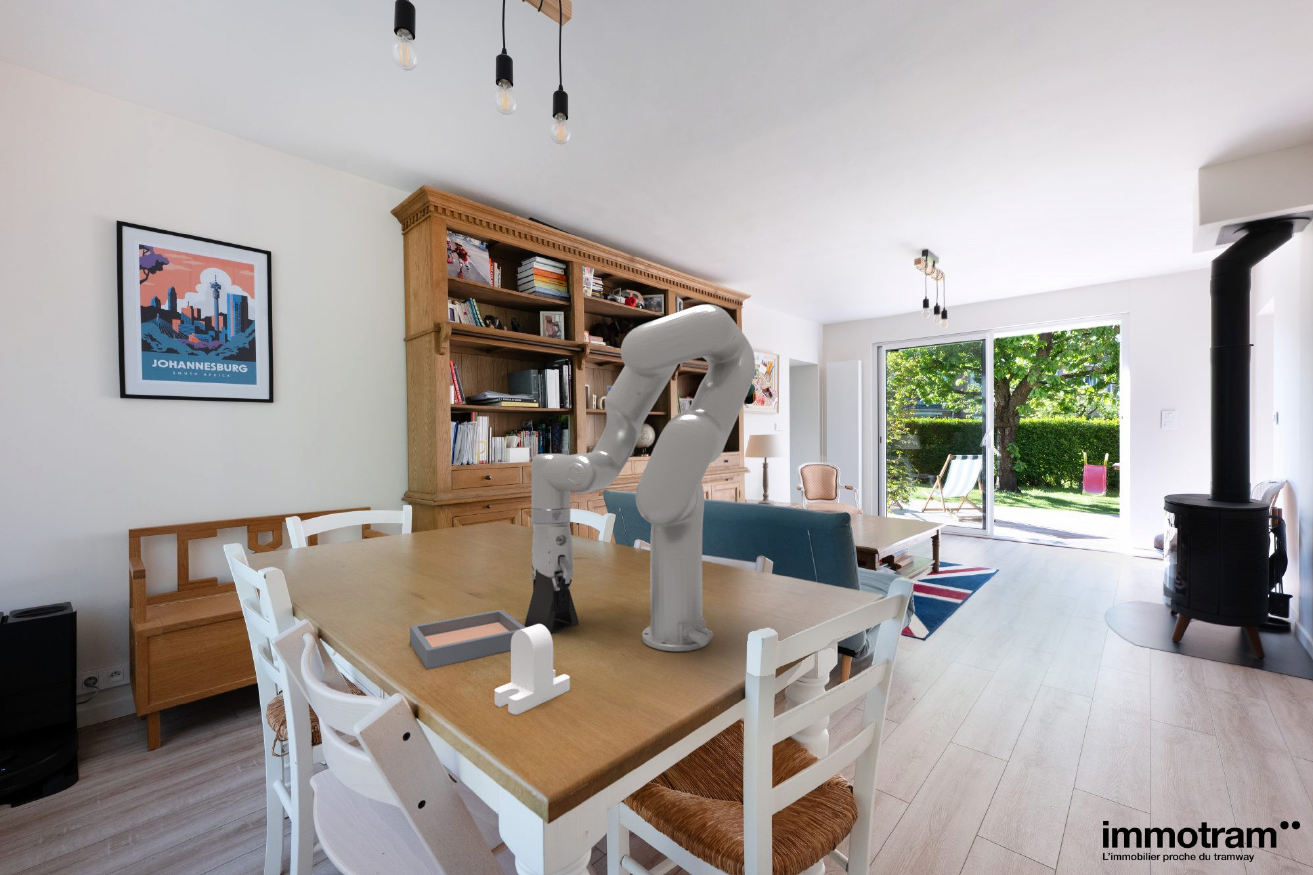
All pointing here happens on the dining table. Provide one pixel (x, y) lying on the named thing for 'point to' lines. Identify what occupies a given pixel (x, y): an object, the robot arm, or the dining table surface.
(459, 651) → the grey tray
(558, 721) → the dining table surface
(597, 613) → the dining table surface
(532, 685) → the cable organizer
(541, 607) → the phone stand
